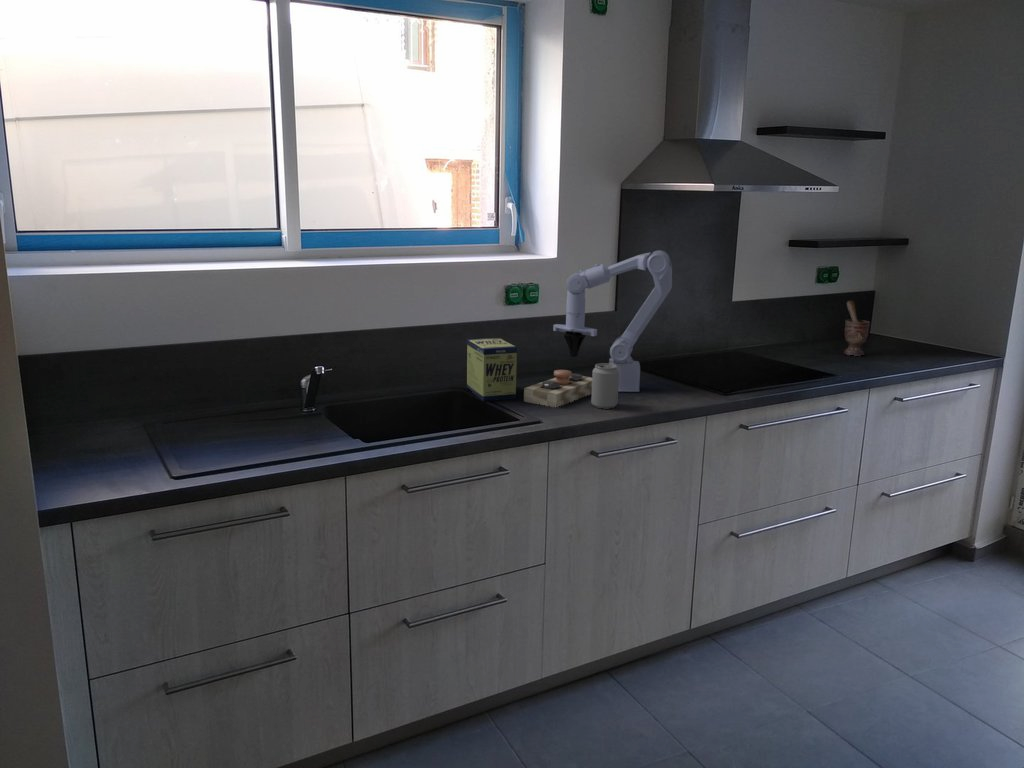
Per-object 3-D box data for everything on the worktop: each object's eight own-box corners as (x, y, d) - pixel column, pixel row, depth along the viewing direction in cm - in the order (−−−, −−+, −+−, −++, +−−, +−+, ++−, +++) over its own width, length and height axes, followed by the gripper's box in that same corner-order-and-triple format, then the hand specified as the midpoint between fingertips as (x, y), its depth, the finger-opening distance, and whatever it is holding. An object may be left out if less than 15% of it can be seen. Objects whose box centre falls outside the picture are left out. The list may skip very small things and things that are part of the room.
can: (602, 401, 240) (604, 361, 237) (622, 406, 235) (624, 365, 232) (585, 405, 235) (587, 364, 232) (606, 411, 230) (608, 369, 227)
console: (567, 385, 257) (567, 373, 257) (598, 391, 251) (598, 378, 250) (523, 401, 238) (524, 388, 237) (556, 407, 232) (556, 394, 231)
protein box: (483, 401, 238) (483, 348, 234) (466, 389, 252) (466, 338, 248) (516, 398, 241) (517, 346, 238) (498, 386, 255) (498, 337, 252)
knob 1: (558, 396, 242) (558, 381, 241) (560, 400, 237) (560, 385, 236) (540, 395, 242) (541, 381, 241) (542, 400, 237) (542, 385, 236)
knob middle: (569, 384, 247) (570, 369, 246) (572, 388, 242) (572, 373, 241) (552, 384, 246) (553, 369, 245) (554, 388, 241) (555, 373, 240)
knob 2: (580, 387, 252) (581, 373, 251) (582, 392, 247) (583, 377, 246) (563, 387, 252) (564, 373, 251) (565, 392, 247) (566, 377, 246)
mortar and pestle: (830, 352, 318) (836, 300, 314) (845, 350, 322) (851, 299, 318) (855, 357, 309) (861, 304, 304) (870, 355, 313) (877, 303, 308)
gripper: (548, 311, 253) (547, 355, 256) (589, 317, 245) (587, 361, 248) (560, 309, 259) (559, 351, 262) (601, 314, 251) (599, 357, 254)
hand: (573, 356), depth 256 cm, fingers closed
